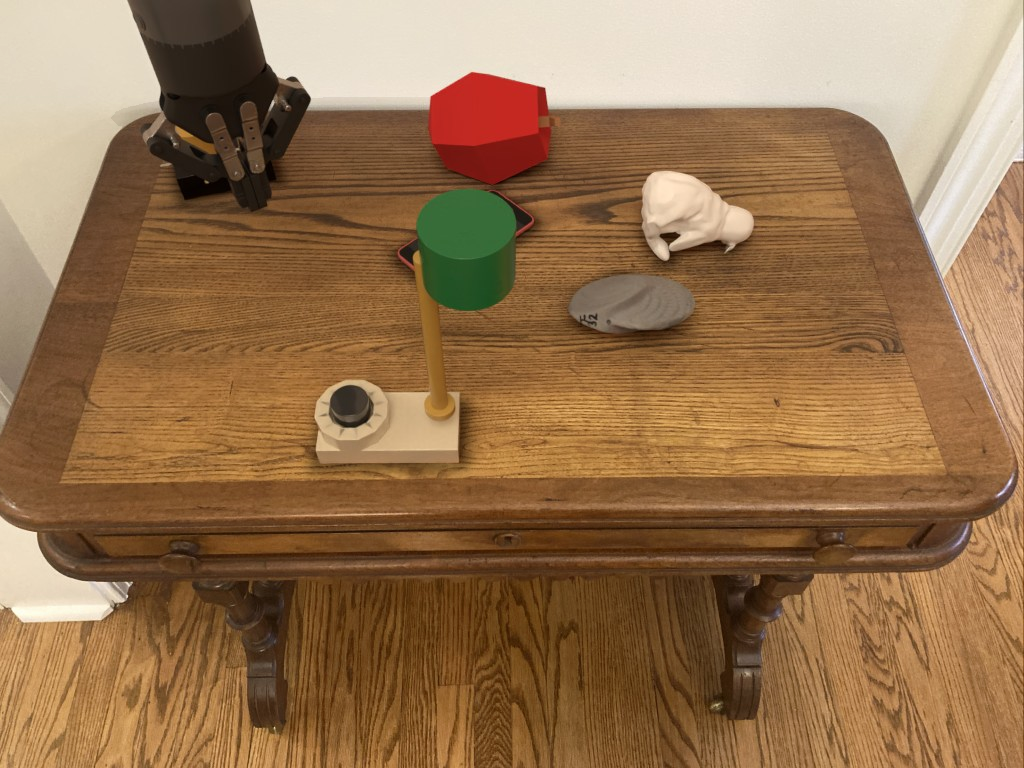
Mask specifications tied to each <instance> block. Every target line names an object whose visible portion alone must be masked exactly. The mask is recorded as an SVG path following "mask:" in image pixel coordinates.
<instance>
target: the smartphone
mask: <svg viewBox="0 0 1024 768" xmlns="http://www.w3.org/2000/svg"><path fill="white" fill-rule="evenodd" d="M487 192H490V193H492V194H494V195H497V196H498V197H500V198H501V199H503V200H504V201H505V202H506V203H507V204H508V205H509V206H510V207H511V209H512V210H513V212H514V214H515V218H516V238H517V237H519V236H521V234H523V233H524V232H526V231H528V230H529V229H530V228H531V227H533V226H534V224H535V218H534V217H533V216H532V215H531V214H530V213H529V212H528V211H526V210H525V209H524V208H522V207H521V206H519V205H518V204H517V203H515V202H513V201H512V200H511V199H510V198H508V197H506V196H505V195H504V194H502V193H501V192H499V191H497V190H496V189H489V190H487ZM418 250H419V246H418V237H417V236H416V237H415V238H414V239H412V240H411V241H409V242H408V243H406V244H405V245H403V246H402V247H400V248H399V249H398V250H397V257H398V259H399V260H400V261H401V262H402V263H403V264H405V266H407V267H408V268H410V269H411V270H412V271H413V272H414V273H415V271H414V264H413V255H414V253H415V252H417V251H418Z"/></svg>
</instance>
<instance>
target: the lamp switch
mask: <svg viewBox="0 0 1024 768" xmlns="http://www.w3.org/2000/svg"><path fill="white" fill-rule="evenodd" d="M330 407H331V410H332V414H333V417H334V419H335V421H336V422H337V423H338V424H340V425H341V426H344V427H356V426H359V425H361V424H363V423H364V422H365V421H366V420H367V419H368V418H369V416H370V413H371V407H370V402H369V398H368V395H367V393H366V391H365V390H364V389H363V388H361V387H359V386H356V385H346V386H343V387H340V388H339V389H337V390H336V391H335V392H334V393H333V394H332V396H331V398H330Z"/></svg>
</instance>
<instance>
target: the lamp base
mask: <svg viewBox="0 0 1024 768" xmlns="http://www.w3.org/2000/svg"><path fill="white" fill-rule="evenodd" d="M346 385H356V386H359V387H361V388H363V389H364V390H365V391H366V393H367V395H368V398H369V402H370V407H371V413H370V416H369V418H368V419H367V420H366V421H365V422H364V423H363V424H361V425H359V426H356V427H344V426H341V425H340V424H338V423H337V422H336V421H335V419H334V417H333V414H332V410H331V407H330V398H331V396H332V394H333V393H334V392H335V391H336V390H337V389H339V388H340V387H343V386H346ZM447 393H449V394H450V395H452V396H453V398H454V400H455V412H454V414H453V415H452V416H451V417H450V418H449V419H447V420H444V421H435V420H432V419H430V418H429V417H428V416H427V415H426V413H425V408H424V402H425V399H426V398H427V397H428V396H429V395H430V391H392V392H391V391H387V392H386V391H383V390H382V389H381V387H380V386H377V385H375V384H373V383H371V382H369V381H368V380H366V379H345V380H341V381H340V382H338V383H335V384H333V385H331V386H328V388H327V389H326V390H325V391H323V393H322V394H321V395H320V397H319V398H318V399H316V401H315V402H316V403H315V408H314V415H313V416H314V421H315V425H316V427H317V437H316V443H315V453H316V457H317V459H318V462H319V464H458V463H460V447H461V446H460V445H461V444H460V442H461V412H462V411H461V410H462V409H461V408H462V403H461V393H460V391H447Z"/></svg>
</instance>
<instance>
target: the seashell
mask: <svg viewBox="0 0 1024 768" xmlns="http://www.w3.org/2000/svg"><path fill="white" fill-rule="evenodd" d="M695 308H696V300H695V296H694V295H693V293H692V292H691V291H690V289H688V288H687V287H686V286H685V285H683V284H682V283H679V281H676V280H674V279H671V278H666V277H664V276H659V275H653V274H640V273H629V274H628V273H627V274H625V273H623V274H617V275H610V276H607V277H604V278H600V279H597V280H593V281H591V282H589V283H587V284H585V285H583V286H582V287H580V288H579V289H578V290H577V291H576V292H574V294H573V296H572V297H571V299H570V301H569V303H568V305H567V312H568V314H569V315H570V316H571V317H572V318H574V319H575V320H576V321H577V322H578V323H580V324H582V326H586V327H588V328H590V329H594V330H595V331H599V332H602V333H605V334H614V335H623V334H631V333H635V332H638V331H656V330H658V331H660V330H665V329H670V328H673V327H676V326H678V325H680V324H681V323H684V321H685V320H686V319H688V318H689V317H691V315H693V314H694V310H695Z"/></svg>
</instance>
